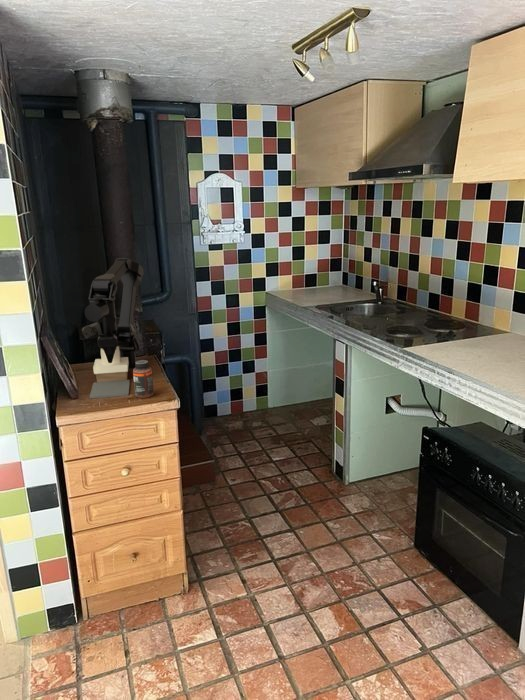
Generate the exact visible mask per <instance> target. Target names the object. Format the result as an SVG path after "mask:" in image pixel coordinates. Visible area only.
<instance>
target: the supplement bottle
mask: <svg viewBox="0 0 525 700" xmlns="http://www.w3.org/2000/svg"><path fill="white" fill-rule="evenodd" d="M135 366H136V367H133V370H132V378H133V387H134V396H135V397H136V398H139V399H147V398H151V397H152V396H153V395H155V394H154V393H155V392H154V379H153V378H154V377H153V370H152V367H150V366H149V361H148V360H145V359H141V360H136V362H135Z"/></svg>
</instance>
